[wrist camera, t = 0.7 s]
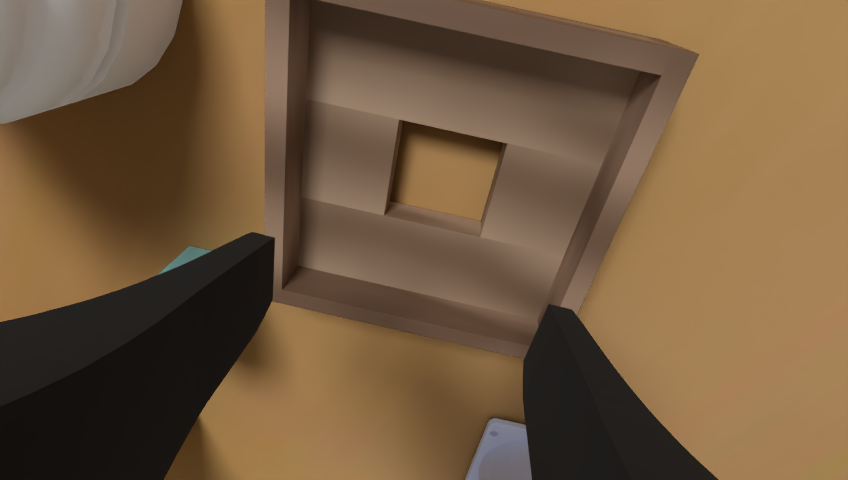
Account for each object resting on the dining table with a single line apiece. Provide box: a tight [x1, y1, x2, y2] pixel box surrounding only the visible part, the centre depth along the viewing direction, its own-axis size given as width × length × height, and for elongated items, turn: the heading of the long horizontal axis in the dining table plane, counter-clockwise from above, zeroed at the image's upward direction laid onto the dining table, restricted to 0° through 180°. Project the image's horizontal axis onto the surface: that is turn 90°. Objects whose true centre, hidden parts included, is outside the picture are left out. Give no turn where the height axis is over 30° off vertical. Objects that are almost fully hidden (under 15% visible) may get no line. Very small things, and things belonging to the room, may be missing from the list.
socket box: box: [265, 0, 699, 359], centre depth 19 cm, size 14×14×4 cm
